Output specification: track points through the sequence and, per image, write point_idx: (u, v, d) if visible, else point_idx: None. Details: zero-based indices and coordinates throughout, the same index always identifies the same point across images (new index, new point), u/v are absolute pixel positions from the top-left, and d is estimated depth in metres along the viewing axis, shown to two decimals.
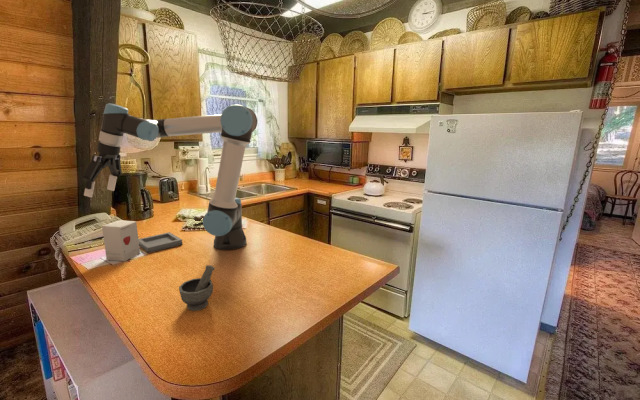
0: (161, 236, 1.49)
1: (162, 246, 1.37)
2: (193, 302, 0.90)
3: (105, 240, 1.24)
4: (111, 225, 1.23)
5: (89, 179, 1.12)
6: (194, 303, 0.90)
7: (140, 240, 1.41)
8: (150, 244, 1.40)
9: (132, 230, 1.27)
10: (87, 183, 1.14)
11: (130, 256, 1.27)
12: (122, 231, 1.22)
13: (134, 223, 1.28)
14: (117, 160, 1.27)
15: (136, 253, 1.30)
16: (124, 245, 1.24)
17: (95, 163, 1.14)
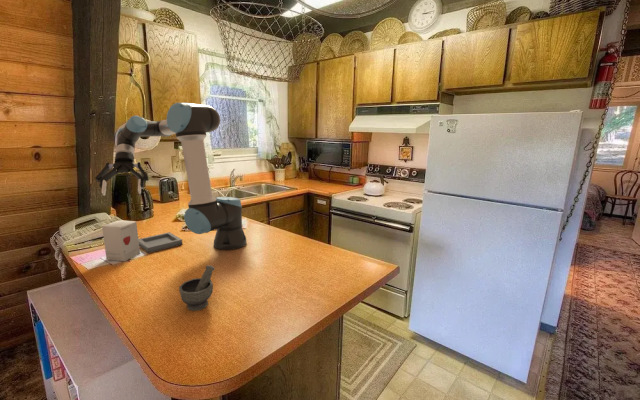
0: (161, 236, 1.49)
1: (162, 246, 1.37)
2: (193, 302, 0.90)
3: (105, 240, 1.24)
4: (111, 225, 1.23)
5: (96, 177, 1.32)
6: (194, 303, 0.90)
7: (140, 240, 1.41)
8: (150, 244, 1.40)
9: (131, 230, 1.27)
10: None
11: (130, 256, 1.27)
12: (122, 231, 1.22)
13: (134, 223, 1.28)
14: (138, 167, 1.40)
15: (136, 253, 1.30)
16: (124, 245, 1.24)
17: None
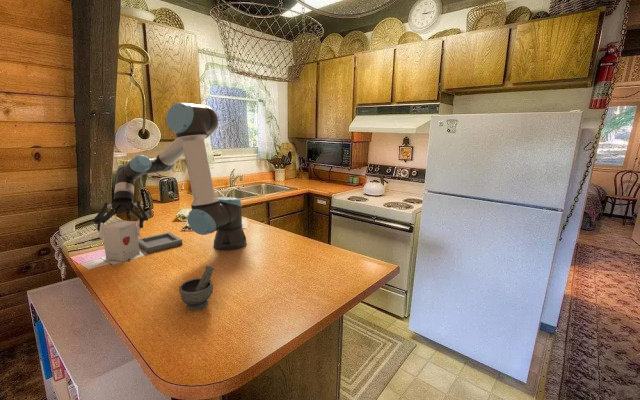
0: (161, 236, 1.49)
1: (162, 246, 1.37)
2: (193, 302, 0.90)
3: (105, 240, 1.24)
4: (111, 225, 1.23)
5: (93, 220, 1.26)
6: (194, 303, 0.90)
7: (140, 240, 1.41)
8: (150, 244, 1.40)
9: (131, 231, 1.27)
10: None
11: (129, 256, 1.27)
12: (121, 232, 1.22)
13: (134, 223, 1.28)
14: None
15: (136, 253, 1.30)
16: (123, 245, 1.23)
17: None
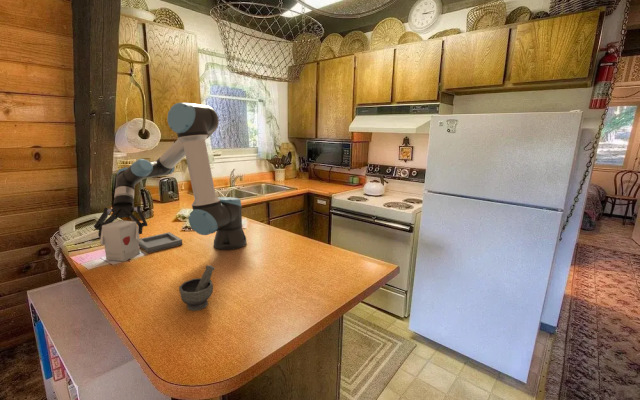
0: (161, 236, 1.49)
1: (162, 246, 1.37)
2: (193, 302, 0.90)
3: (105, 240, 1.24)
4: (111, 225, 1.23)
5: (94, 226, 1.25)
6: (194, 303, 0.90)
7: (140, 240, 1.41)
8: (150, 244, 1.40)
9: (131, 230, 1.27)
10: None
11: (130, 256, 1.27)
12: (121, 231, 1.22)
13: (134, 223, 1.28)
14: (137, 211, 1.33)
15: (136, 253, 1.30)
16: (123, 245, 1.23)
17: None
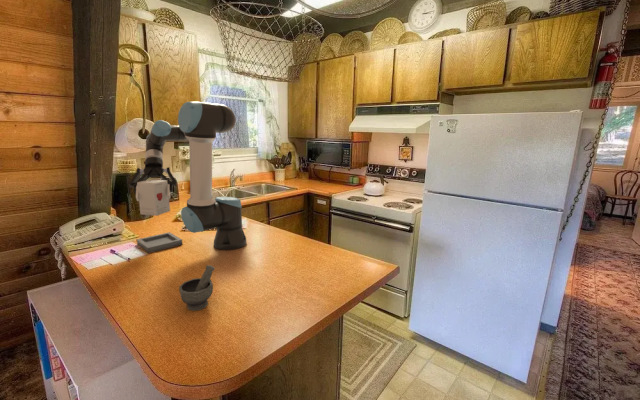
0: (161, 236, 1.49)
1: (162, 246, 1.37)
2: (193, 302, 0.90)
3: (140, 196, 1.34)
4: (145, 182, 1.33)
5: (129, 183, 1.35)
6: (194, 303, 0.90)
7: (140, 240, 1.41)
8: (150, 244, 1.40)
9: (163, 188, 1.37)
10: (134, 189, 1.35)
11: (162, 212, 1.37)
12: (155, 187, 1.32)
13: (165, 181, 1.38)
14: (167, 172, 1.43)
15: (167, 210, 1.40)
16: (157, 200, 1.34)
17: None
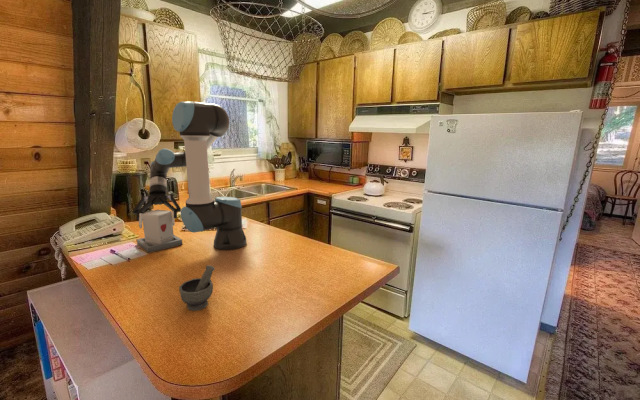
0: None
1: (162, 246, 1.37)
2: (193, 302, 0.90)
3: (144, 227, 1.38)
4: (150, 213, 1.37)
5: (133, 211, 1.38)
6: (194, 303, 0.90)
7: (140, 240, 1.41)
8: None
9: (167, 219, 1.41)
10: None
11: None
12: (159, 219, 1.36)
13: (169, 212, 1.42)
14: (171, 198, 1.47)
15: (171, 239, 1.44)
16: (161, 231, 1.37)
17: None
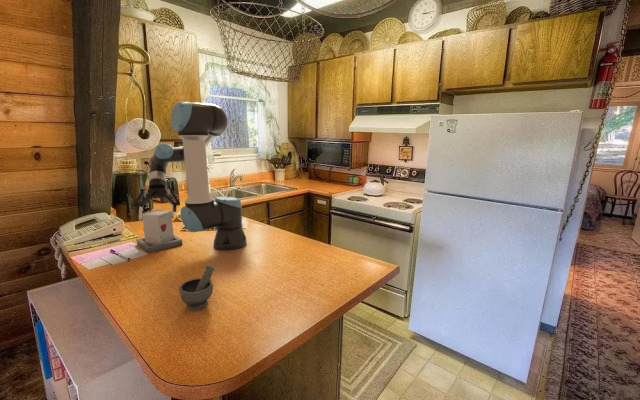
0: None
1: (162, 246, 1.37)
2: (193, 302, 0.90)
3: (144, 227, 1.38)
4: (150, 213, 1.37)
5: (133, 204, 1.40)
6: (194, 303, 0.90)
7: (140, 240, 1.41)
8: None
9: (167, 219, 1.41)
10: None
11: None
12: (159, 219, 1.36)
13: (169, 212, 1.42)
14: (170, 192, 1.49)
15: (171, 239, 1.44)
16: (161, 231, 1.37)
17: None
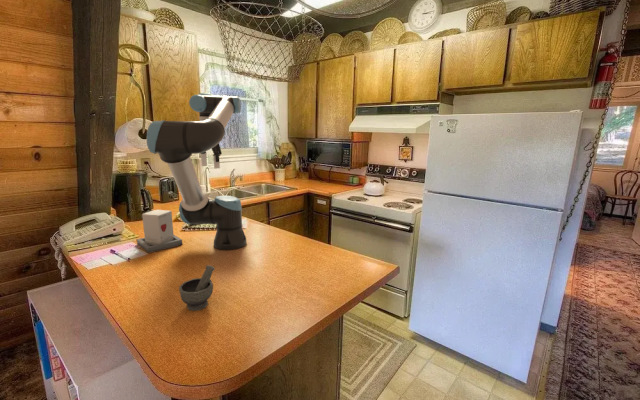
0: None
1: (162, 246, 1.37)
2: (193, 302, 0.90)
3: (144, 227, 1.38)
4: (150, 213, 1.37)
5: None
6: (194, 303, 0.90)
7: (140, 240, 1.41)
8: None
9: (167, 219, 1.41)
10: None
11: None
12: (160, 219, 1.36)
13: (169, 212, 1.42)
14: None
15: (171, 239, 1.44)
16: (161, 231, 1.37)
17: None
